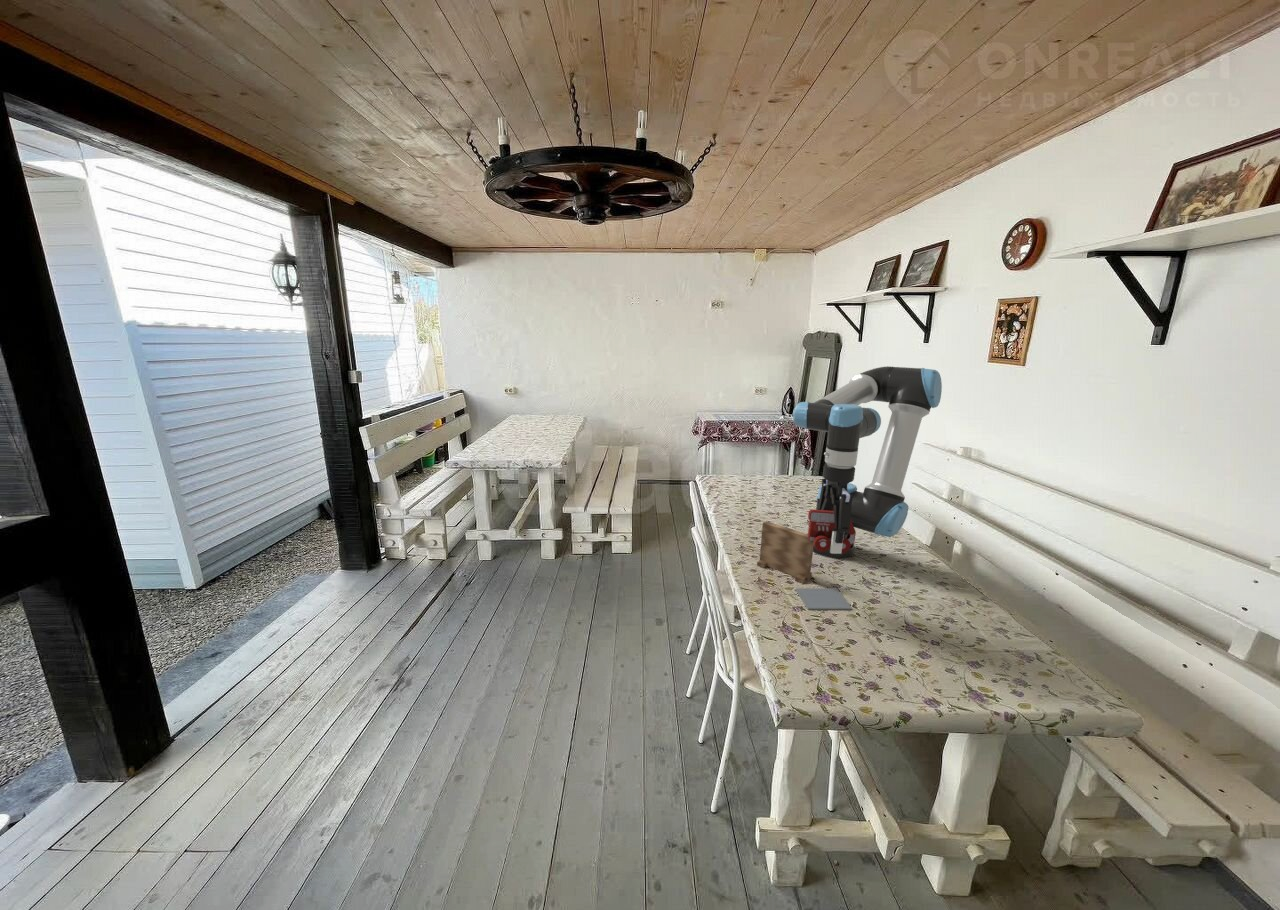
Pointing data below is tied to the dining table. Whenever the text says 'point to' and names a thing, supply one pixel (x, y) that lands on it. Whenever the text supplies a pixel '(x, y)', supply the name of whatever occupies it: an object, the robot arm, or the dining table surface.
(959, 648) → the dining table surface
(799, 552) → the screen
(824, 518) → the toy fire truck
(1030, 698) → the dining table surface
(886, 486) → the robot arm
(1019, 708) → the dining table surface
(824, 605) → the mat
